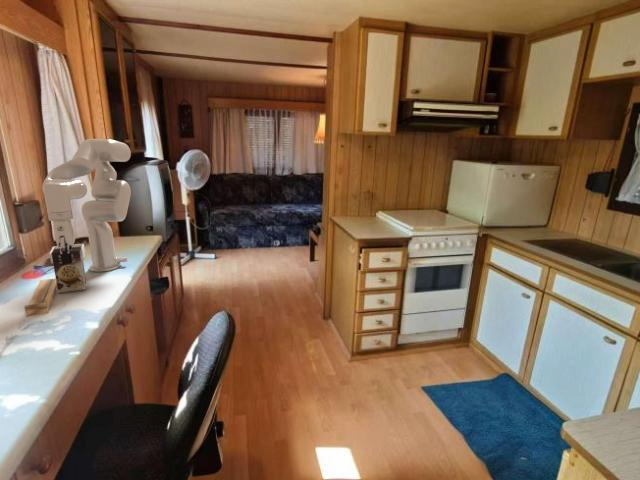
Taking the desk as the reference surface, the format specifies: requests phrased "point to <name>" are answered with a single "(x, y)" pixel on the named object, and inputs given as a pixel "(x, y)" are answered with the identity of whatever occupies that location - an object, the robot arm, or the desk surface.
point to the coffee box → (69, 271)
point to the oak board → (42, 298)
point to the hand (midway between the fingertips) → (68, 260)
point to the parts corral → (72, 246)
